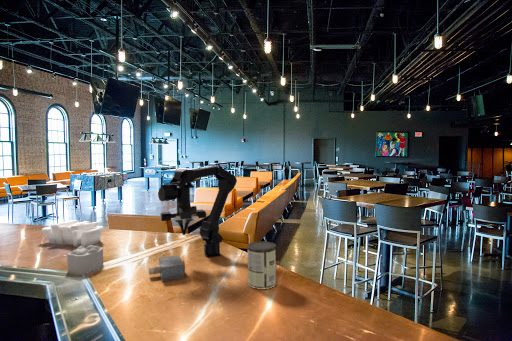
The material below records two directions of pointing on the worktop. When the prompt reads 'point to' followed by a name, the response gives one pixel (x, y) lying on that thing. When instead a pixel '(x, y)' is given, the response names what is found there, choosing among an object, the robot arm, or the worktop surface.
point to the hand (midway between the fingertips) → (183, 234)
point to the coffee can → (261, 265)
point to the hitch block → (171, 268)
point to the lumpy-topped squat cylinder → (85, 259)
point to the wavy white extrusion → (74, 233)
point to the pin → (158, 269)
